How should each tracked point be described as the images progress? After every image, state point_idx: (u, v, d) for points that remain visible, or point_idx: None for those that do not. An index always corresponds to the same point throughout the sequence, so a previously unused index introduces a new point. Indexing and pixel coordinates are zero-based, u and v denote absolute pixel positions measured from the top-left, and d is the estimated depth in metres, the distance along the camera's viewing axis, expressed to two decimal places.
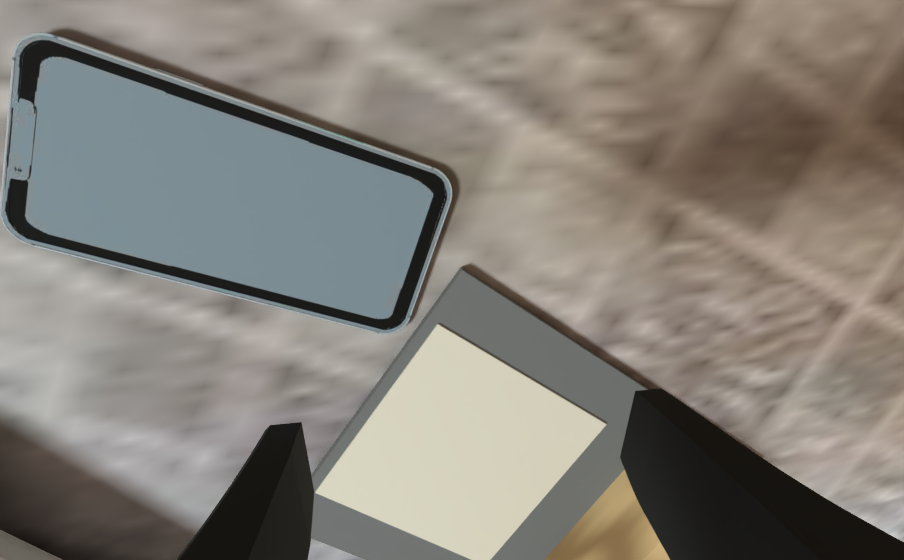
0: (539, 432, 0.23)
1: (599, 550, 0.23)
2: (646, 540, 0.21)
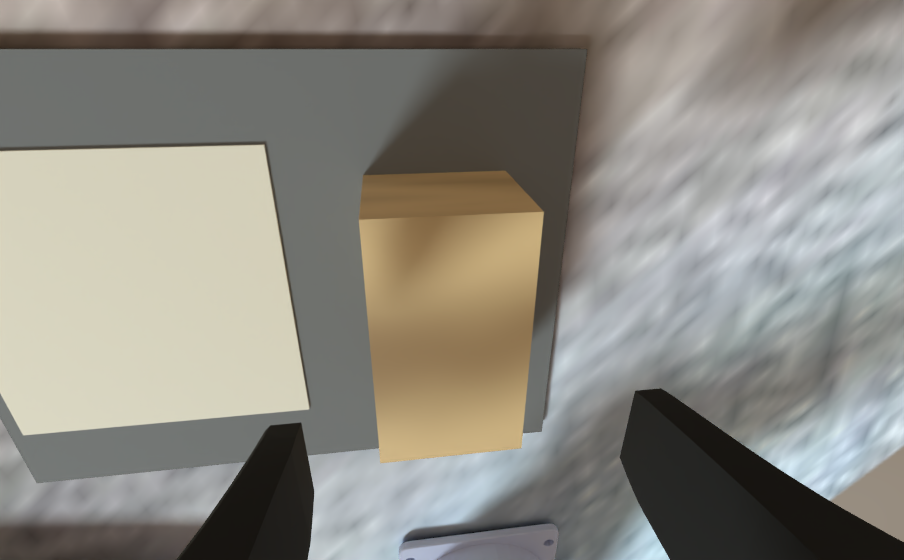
0: (184, 215, 0.15)
1: None
2: None
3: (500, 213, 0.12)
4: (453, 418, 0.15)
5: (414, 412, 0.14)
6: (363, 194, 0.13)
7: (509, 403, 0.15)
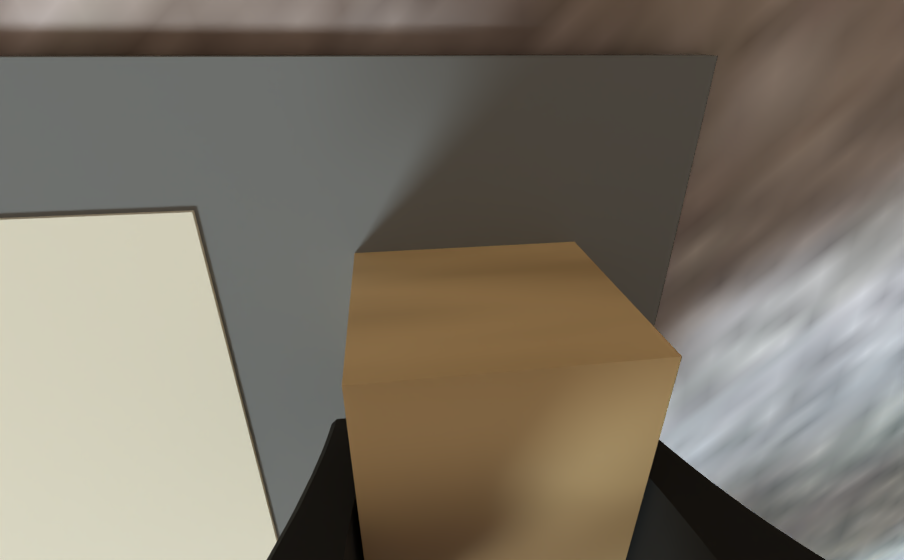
0: (70, 320, 0.09)
1: None
2: None
3: (603, 361, 0.06)
4: None
5: None
6: (353, 305, 0.08)
7: None
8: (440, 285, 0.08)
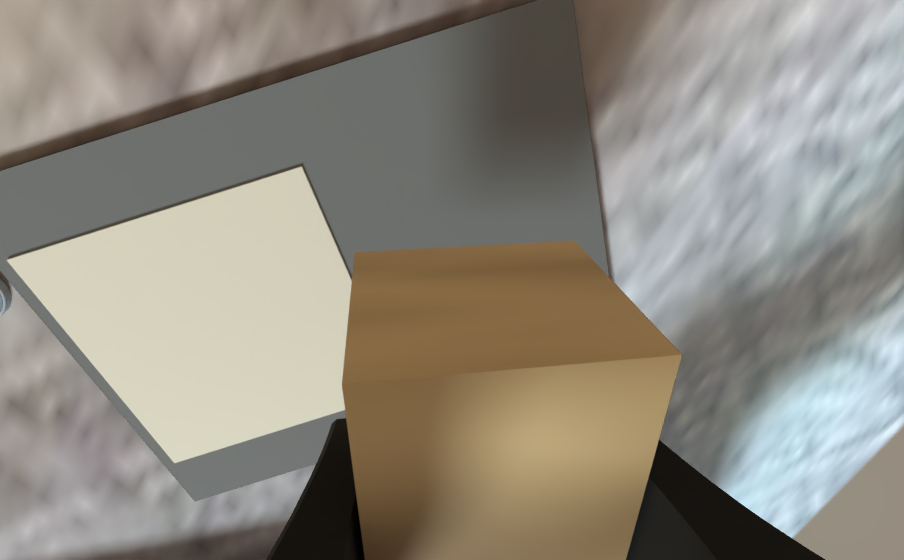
0: (252, 246, 0.16)
1: None
2: None
3: (603, 360, 0.06)
4: None
5: None
6: (353, 304, 0.08)
7: None
8: (440, 284, 0.08)
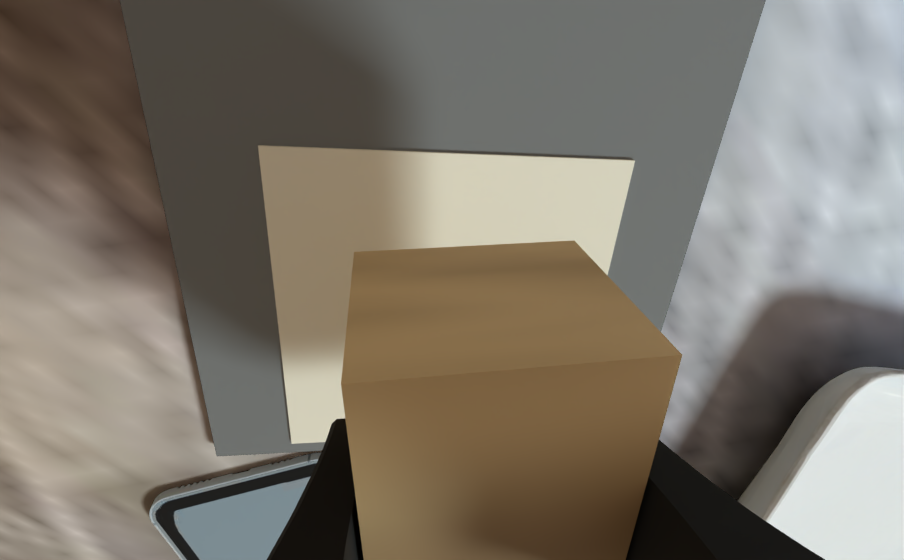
0: (345, 246, 0.13)
1: None
2: None
3: (604, 360, 0.06)
4: None
5: None
6: (353, 303, 0.08)
7: None
8: (440, 284, 0.08)
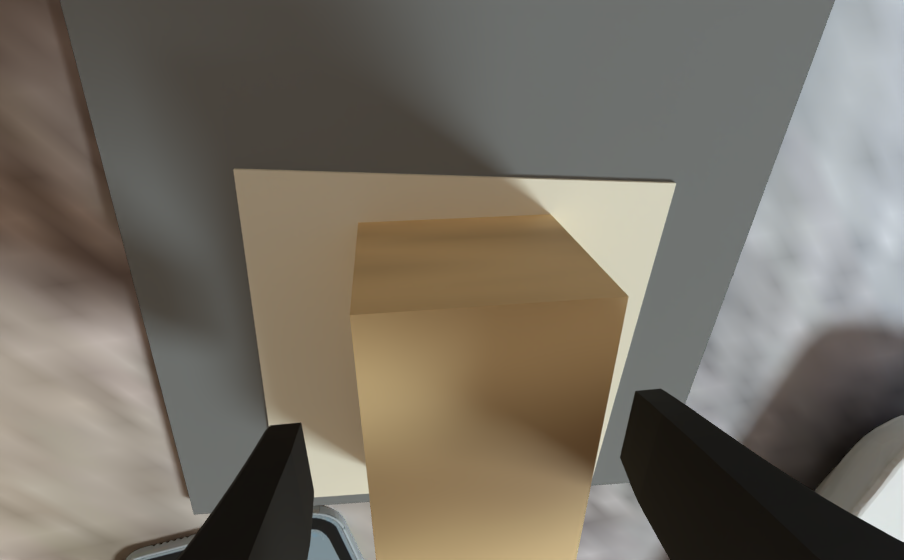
0: (339, 283, 0.11)
1: None
2: None
3: (564, 300, 0.08)
4: (481, 559, 0.11)
5: (429, 554, 0.10)
6: (357, 260, 0.09)
7: (559, 537, 0.11)
8: (432, 246, 0.10)
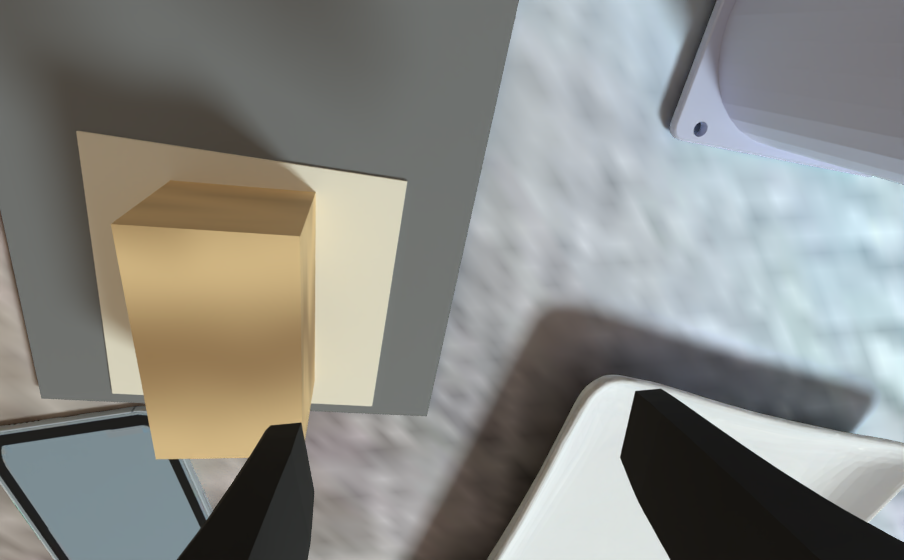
0: None
1: None
2: None
3: (256, 233, 0.13)
4: (228, 422, 0.15)
5: (187, 412, 0.15)
6: (146, 199, 0.14)
7: (285, 412, 0.15)
8: (206, 199, 0.14)
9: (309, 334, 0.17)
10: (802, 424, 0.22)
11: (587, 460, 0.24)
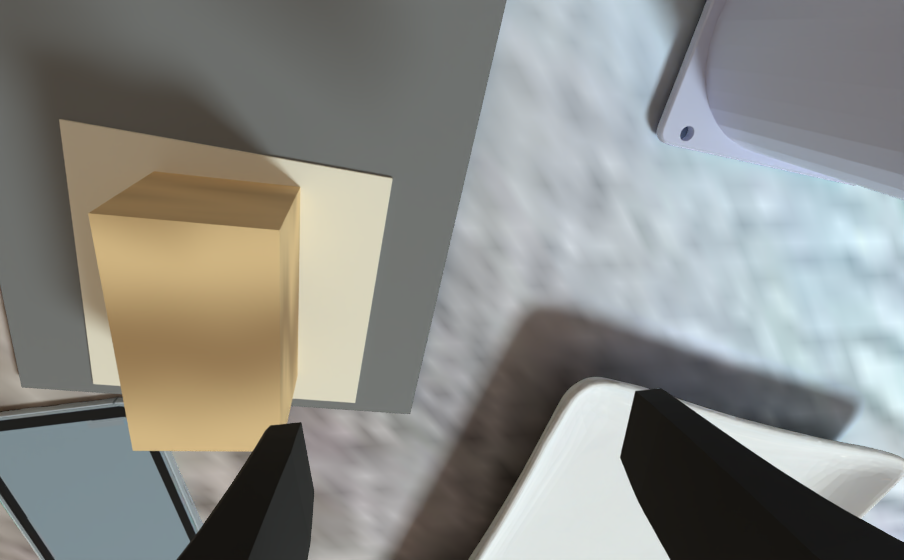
0: None
1: None
2: None
3: (235, 226, 0.13)
4: (206, 415, 0.15)
5: (164, 404, 0.15)
6: (127, 190, 0.14)
7: (263, 406, 0.15)
8: (188, 190, 0.14)
9: (291, 329, 0.17)
10: (784, 430, 0.22)
11: (570, 462, 0.24)
